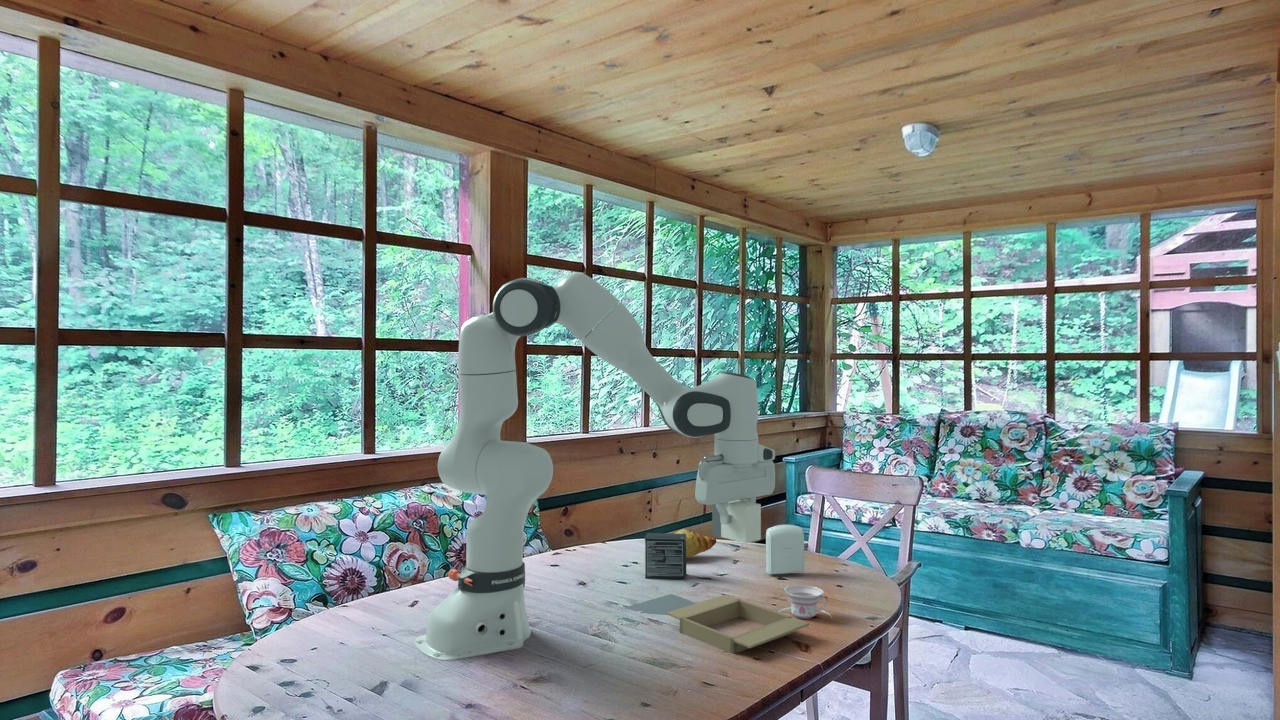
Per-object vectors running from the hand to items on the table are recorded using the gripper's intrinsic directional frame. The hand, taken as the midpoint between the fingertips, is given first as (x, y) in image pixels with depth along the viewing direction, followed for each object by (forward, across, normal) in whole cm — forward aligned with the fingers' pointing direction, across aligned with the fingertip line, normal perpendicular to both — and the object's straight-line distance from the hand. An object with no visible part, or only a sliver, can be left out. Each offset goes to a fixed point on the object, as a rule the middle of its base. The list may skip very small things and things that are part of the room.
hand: (736, 521), depth 145 cm
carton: (+23, 0, 0) cm, 23 cm away
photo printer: (+23, +43, +22) cm, 54 cm away
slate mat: (+23, 0, +20) cm, 31 cm away
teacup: (+24, +20, -2) cm, 31 cm away
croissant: (+23, +34, +53) cm, 67 cm away
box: (+3, 0, 0) cm, 3 cm away
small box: (+23, +17, +40) cm, 49 cm away
